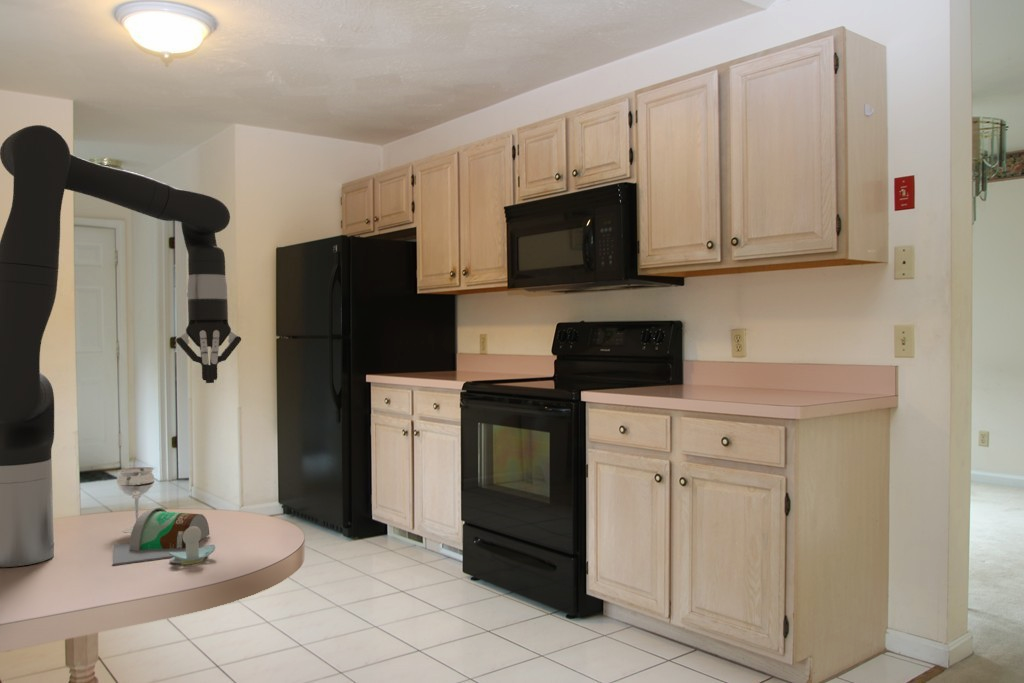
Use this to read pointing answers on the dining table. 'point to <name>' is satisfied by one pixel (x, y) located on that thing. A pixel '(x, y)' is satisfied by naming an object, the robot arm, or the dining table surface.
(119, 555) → the mat
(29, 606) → the dining table surface
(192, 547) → the pacifier
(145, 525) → the food container
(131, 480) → the wineglass
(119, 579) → the dining table surface
